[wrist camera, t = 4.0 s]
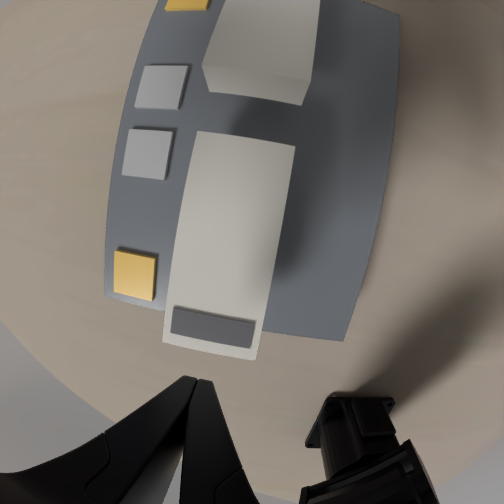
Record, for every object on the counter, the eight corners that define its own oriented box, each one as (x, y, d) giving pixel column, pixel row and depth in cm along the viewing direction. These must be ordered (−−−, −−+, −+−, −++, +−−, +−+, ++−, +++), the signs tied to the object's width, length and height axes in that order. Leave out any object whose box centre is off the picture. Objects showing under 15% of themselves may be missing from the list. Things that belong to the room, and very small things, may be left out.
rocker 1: (301, 105, 10) (311, 79, 8) (209, 91, 10) (200, 64, 8) (316, -11, 9) (323, -37, 7) (247, -22, 9) (247, -48, 7)
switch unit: (331, 318, 18) (347, 350, 14) (125, 279, 18) (96, 302, 14) (381, 34, 13) (405, 8, 9) (179, 1, 13) (163, -30, 9)
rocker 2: (254, 341, 12) (255, 361, 10) (175, 326, 12) (161, 342, 10) (288, 160, 12) (295, 145, 10) (205, 146, 12) (196, 130, 10)
